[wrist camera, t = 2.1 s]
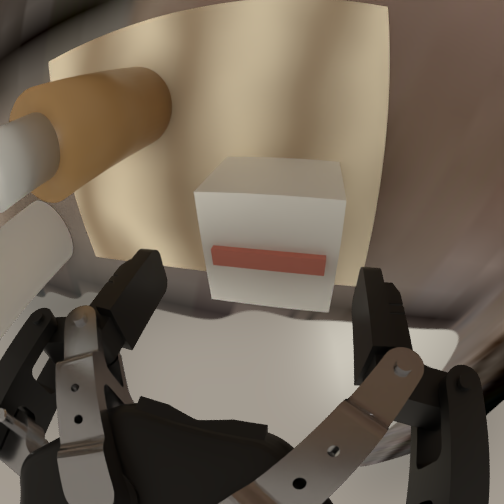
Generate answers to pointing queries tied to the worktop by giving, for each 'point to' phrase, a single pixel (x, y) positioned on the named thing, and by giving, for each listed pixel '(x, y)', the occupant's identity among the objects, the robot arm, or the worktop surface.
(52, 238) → the cylindrical container
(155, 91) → the bottle
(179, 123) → the board
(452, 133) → the worktop surface
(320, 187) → the white minus sign cube
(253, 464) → the robot arm
